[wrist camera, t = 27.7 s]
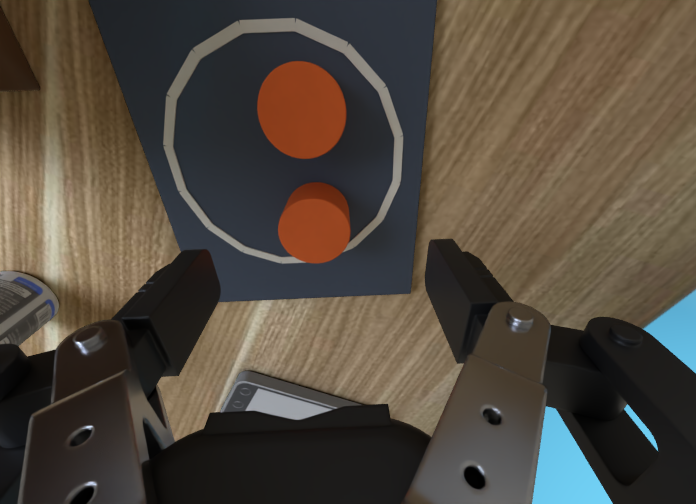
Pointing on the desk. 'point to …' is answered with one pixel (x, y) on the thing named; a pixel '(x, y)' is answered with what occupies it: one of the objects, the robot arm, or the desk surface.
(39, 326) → the pill bottle
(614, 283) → the desk surface
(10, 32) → the desk cube
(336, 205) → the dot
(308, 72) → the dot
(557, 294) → the desk surface
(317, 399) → the smartphone
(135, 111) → the dark mat with ring
